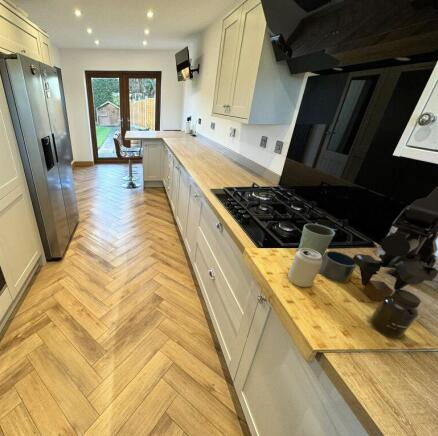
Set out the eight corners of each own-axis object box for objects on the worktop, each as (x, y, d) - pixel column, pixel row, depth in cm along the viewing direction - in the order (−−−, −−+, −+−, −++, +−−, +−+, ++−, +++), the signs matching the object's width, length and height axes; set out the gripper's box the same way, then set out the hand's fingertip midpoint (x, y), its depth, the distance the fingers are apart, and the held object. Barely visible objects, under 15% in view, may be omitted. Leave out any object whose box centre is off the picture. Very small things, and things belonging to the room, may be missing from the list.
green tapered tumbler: (329, 262, 92) (341, 236, 87) (303, 261, 92) (314, 235, 87) (313, 248, 102) (323, 223, 96) (290, 247, 102) (299, 222, 96)
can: (289, 271, 86) (299, 243, 81) (313, 280, 82) (325, 252, 77) (284, 281, 81) (295, 252, 76) (309, 292, 77) (323, 262, 72)
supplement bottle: (390, 341, 61) (415, 308, 56) (362, 320, 67) (382, 288, 62) (408, 336, 63) (433, 303, 58) (379, 315, 69) (400, 284, 64)
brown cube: (377, 291, 78) (383, 281, 76) (386, 301, 74) (393, 291, 72) (362, 289, 79) (368, 279, 77) (371, 299, 75) (377, 288, 73)
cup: (329, 264, 91) (336, 249, 88) (354, 279, 84) (363, 263, 81) (312, 268, 88) (319, 253, 85) (337, 284, 81) (345, 268, 78)
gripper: (388, 257, 62) (363, 301, 69) (471, 267, 60) (436, 311, 67) (362, 237, 72) (341, 277, 79) (431, 244, 70) (404, 285, 77)
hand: (379, 287), depth 75 cm, fingers open, 9 cm apart
